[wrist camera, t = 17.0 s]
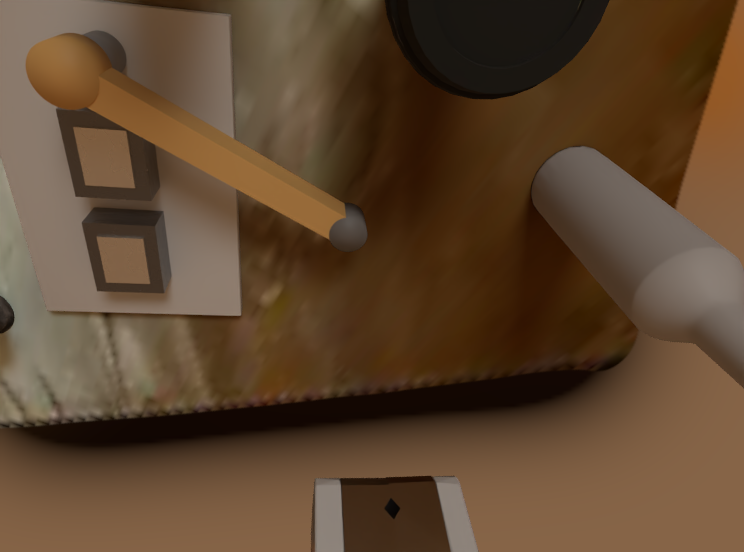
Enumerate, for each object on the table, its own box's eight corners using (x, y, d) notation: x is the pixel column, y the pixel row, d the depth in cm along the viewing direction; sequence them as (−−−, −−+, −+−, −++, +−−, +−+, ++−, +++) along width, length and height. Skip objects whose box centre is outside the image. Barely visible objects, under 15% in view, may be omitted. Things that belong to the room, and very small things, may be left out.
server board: (-41, -16, 31) (-90, -9, 27) (231, 14, 33) (220, 23, 29) (52, 303, 44) (27, 337, 40) (242, 309, 46) (235, 341, 42)
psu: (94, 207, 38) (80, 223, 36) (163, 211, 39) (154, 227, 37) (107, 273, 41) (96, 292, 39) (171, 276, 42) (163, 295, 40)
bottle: (625, 162, 41) (1024, 446, 18) (577, 229, 44) (865, 544, 21) (560, 133, 39) (914, 409, 16) (515, 205, 43) (758, 522, 19)
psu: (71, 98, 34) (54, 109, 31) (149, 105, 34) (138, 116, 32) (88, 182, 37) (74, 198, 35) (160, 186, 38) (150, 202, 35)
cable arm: (37, 75, 29) (17, 85, 27) (56, 18, 28) (36, 24, 26) (347, 246, 38) (349, 263, 36) (375, 208, 36) (379, 224, 34)
